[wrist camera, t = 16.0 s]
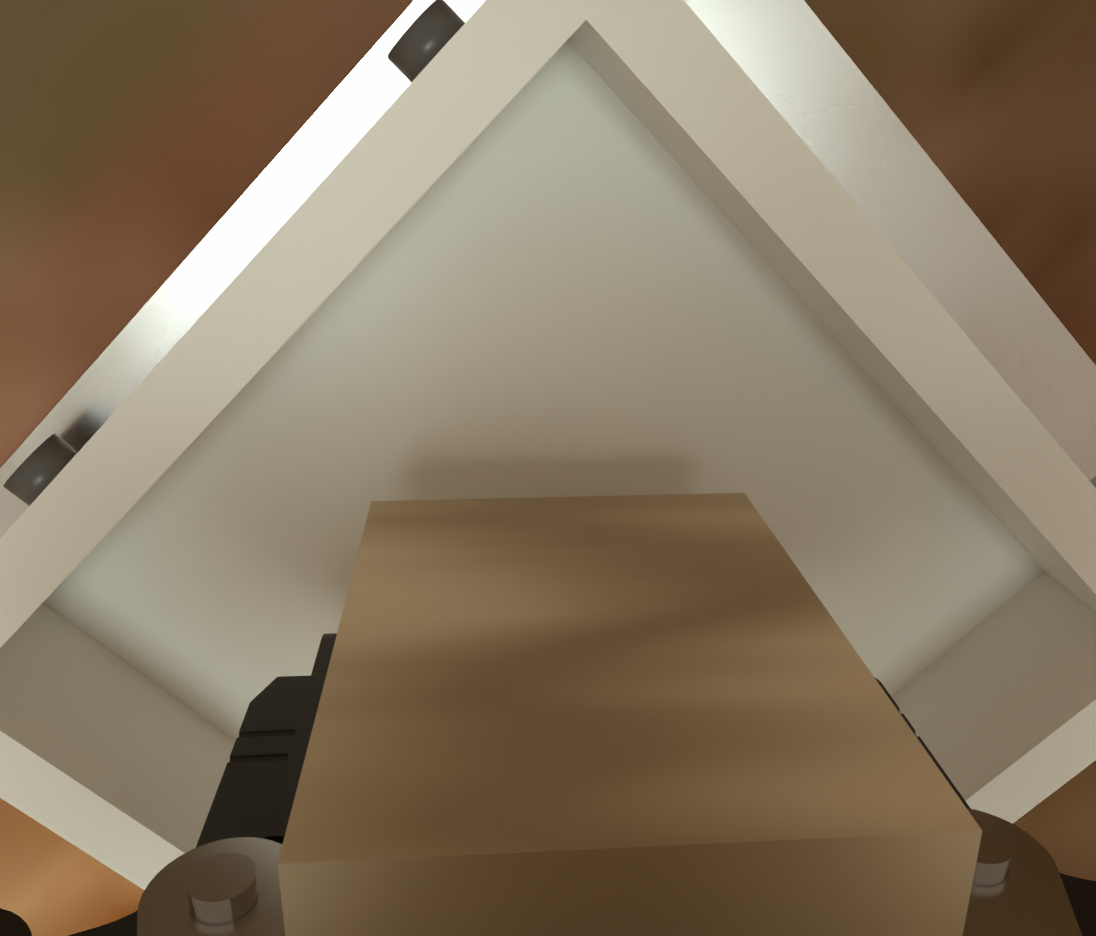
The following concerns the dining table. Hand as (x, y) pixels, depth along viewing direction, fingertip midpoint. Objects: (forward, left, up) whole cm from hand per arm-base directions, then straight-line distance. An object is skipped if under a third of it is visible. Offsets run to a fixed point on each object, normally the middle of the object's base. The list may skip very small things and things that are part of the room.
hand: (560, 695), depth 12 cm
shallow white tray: (0, 0, -5) cm, 5 cm away
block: (0, 0, -1) cm, 1 cm away
